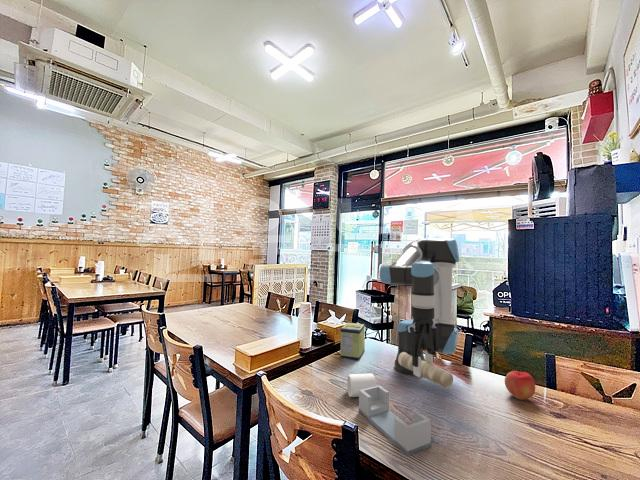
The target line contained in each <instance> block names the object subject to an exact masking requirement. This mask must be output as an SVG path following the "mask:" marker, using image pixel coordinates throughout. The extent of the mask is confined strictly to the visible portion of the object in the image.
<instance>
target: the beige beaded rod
mask: <svg viewBox="0 0 640 480" xmlns="http://www.w3.org/2000/svg"><path fill="white" fill-rule="evenodd" d="M398 363H399V364H400V365H401V366H403V367H405V368H407V369H409V370H411V371H413V365H412V356H411V355H408V354H407V353H406V352H402V353H400V355H399V357H398ZM421 378H424V379H427V380H428V381H430V382H432V383H434V384H436V385H438V386H440V387H442V388H443V389H447V390H448V389H449V388H451V387H452V385H453V383H454V376H453V374H452V373H451V372H450V371H448V370H445V369H443V368H441V367H439V366H438V365H435V364H433V365H432V364H430V363H428V362H426V361H423V360H421Z"/></svg>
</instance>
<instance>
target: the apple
mask: <svg viewBox="0 0 640 480" xmlns="http://www.w3.org/2000/svg"><path fill="white" fill-rule="evenodd" d="M504 385H505V388H506V389H507V391H508V392H509V393H510V394H511V396H513V397H514V398H516V399H517V400H521V401H523V400H524V401H525V400H529V399H531V398H532V397H533V396H534V395H535V391H536V384H535V380H534V378H533V377H532V375H530V373H528V372H526V371H518V370H512V371H509V372H507V374H506V376H505V378H504Z"/></svg>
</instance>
